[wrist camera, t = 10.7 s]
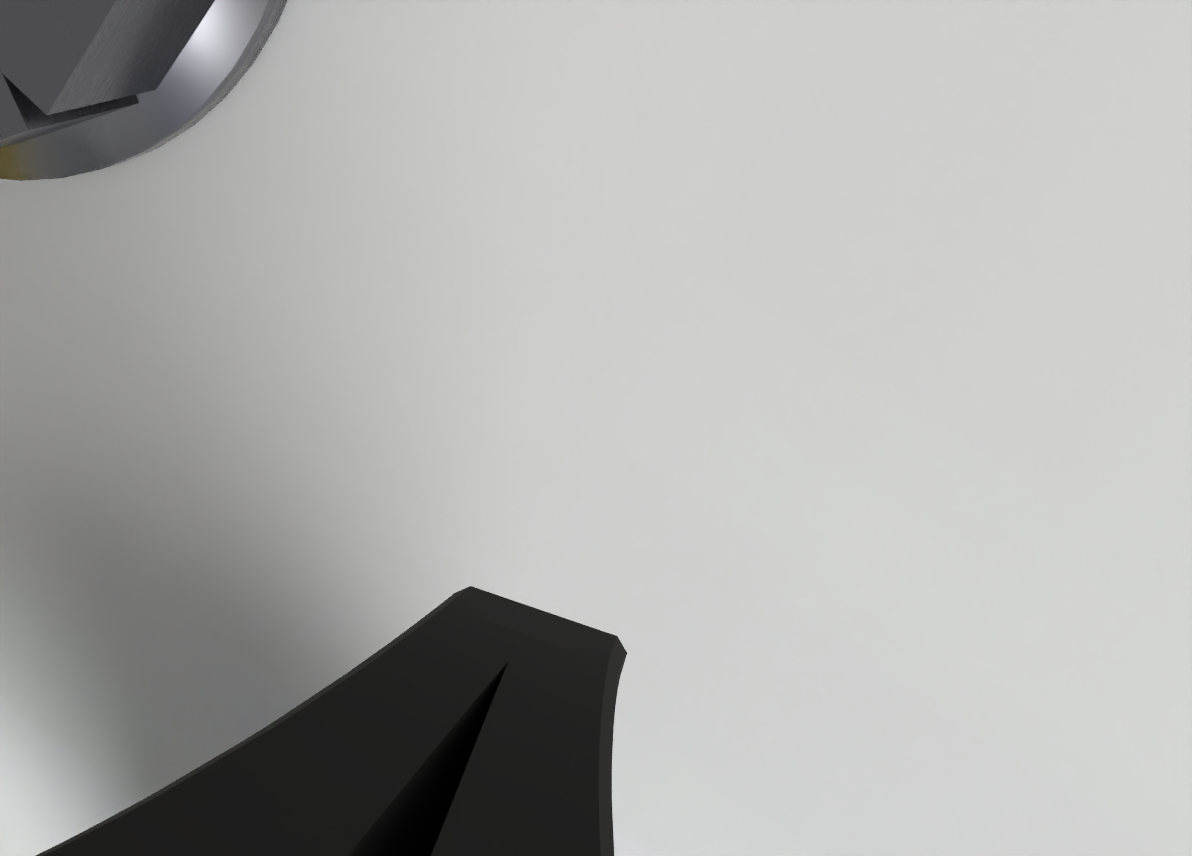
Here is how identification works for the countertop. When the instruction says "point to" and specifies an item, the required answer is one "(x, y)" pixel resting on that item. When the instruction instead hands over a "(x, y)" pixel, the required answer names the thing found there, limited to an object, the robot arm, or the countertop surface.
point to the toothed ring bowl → (115, 76)
